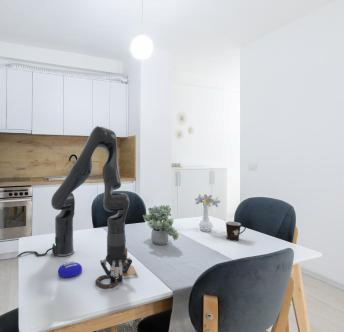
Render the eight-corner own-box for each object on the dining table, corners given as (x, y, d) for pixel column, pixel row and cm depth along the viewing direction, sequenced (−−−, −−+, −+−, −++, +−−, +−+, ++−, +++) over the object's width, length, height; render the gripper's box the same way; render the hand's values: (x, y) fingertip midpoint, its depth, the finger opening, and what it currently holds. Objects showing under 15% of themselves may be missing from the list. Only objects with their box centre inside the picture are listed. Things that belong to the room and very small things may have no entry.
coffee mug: (225, 240, 150) (225, 224, 150) (225, 236, 158) (225, 220, 158) (246, 243, 146) (247, 226, 145) (245, 238, 154) (245, 222, 153)
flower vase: (222, 230, 171) (222, 194, 169) (204, 234, 161) (205, 197, 159) (206, 225, 181) (207, 192, 180) (189, 229, 171) (190, 194, 170)
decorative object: (78, 254, 113) (84, 266, 104) (79, 265, 114) (84, 278, 105) (55, 259, 109) (59, 271, 100) (56, 270, 110) (59, 284, 101)
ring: (96, 292, 94) (96, 287, 94) (94, 279, 103) (94, 275, 103) (121, 289, 96) (121, 284, 96) (116, 277, 105) (116, 272, 105)
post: (116, 279, 104) (116, 253, 103) (113, 269, 113) (112, 245, 112) (136, 277, 106) (137, 251, 105) (131, 267, 114) (131, 244, 114)
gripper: (130, 237, 104) (130, 277, 105) (98, 240, 102) (98, 280, 103) (135, 244, 97) (134, 286, 98) (100, 246, 94) (100, 290, 95)
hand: (116, 283), depth 100 cm, fingers closed on ring, 2 cm apart
